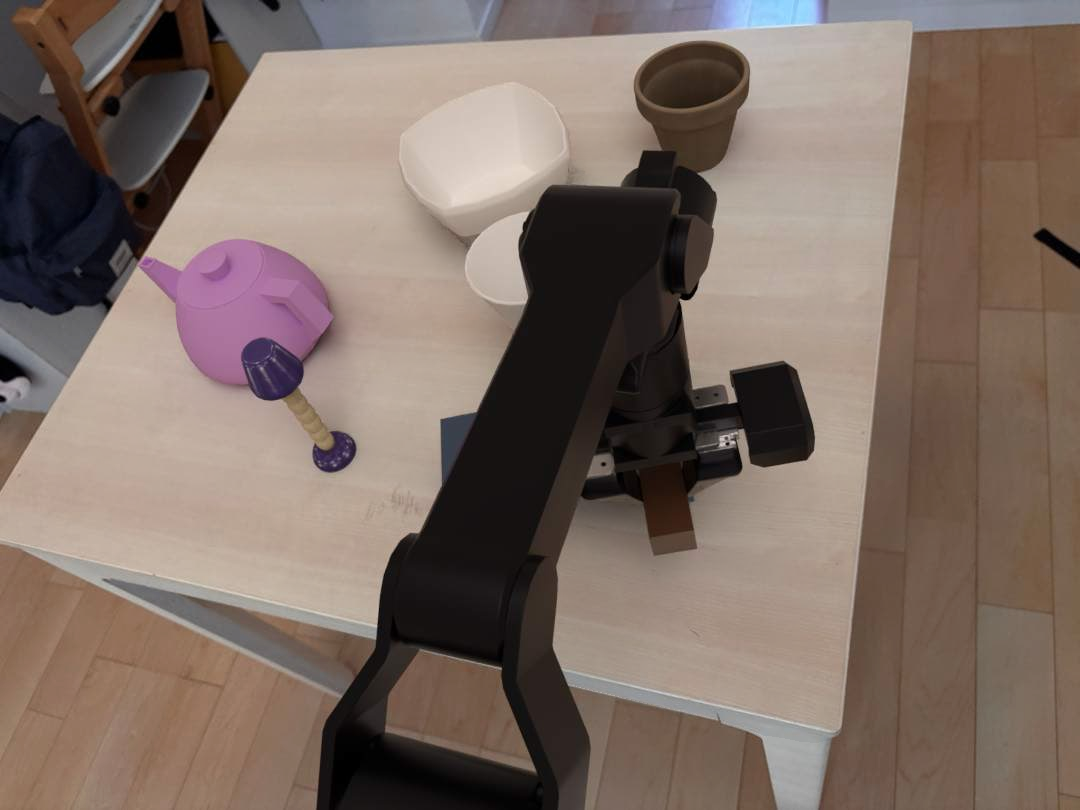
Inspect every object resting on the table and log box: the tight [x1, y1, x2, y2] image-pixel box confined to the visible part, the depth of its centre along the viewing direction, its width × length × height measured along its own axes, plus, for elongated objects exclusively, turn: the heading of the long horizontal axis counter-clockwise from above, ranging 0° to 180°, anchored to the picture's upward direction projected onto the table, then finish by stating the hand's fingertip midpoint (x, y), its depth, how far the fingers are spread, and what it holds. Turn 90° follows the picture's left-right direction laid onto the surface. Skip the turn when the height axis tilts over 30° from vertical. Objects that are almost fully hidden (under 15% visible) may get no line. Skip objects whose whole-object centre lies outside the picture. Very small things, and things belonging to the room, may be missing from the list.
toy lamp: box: [241, 337, 357, 473], centre depth 76 cm, size 5×5×17 cm
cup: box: [464, 211, 530, 332], centre depth 78 cm, size 10×10×14 cm
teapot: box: [137, 238, 335, 386], centre depth 89 cm, size 22×16×12 cm
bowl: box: [397, 81, 572, 249], centre depth 92 cm, size 18×18×9 cm
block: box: [638, 461, 698, 557], centre depth 60 cm, size 8×3×3 cm, turn 4°
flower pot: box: [633, 40, 751, 173], centre depth 90 cm, size 12×11×10 cm
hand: (665, 494), depth 61 cm, fingers closed on block, 3 cm apart
